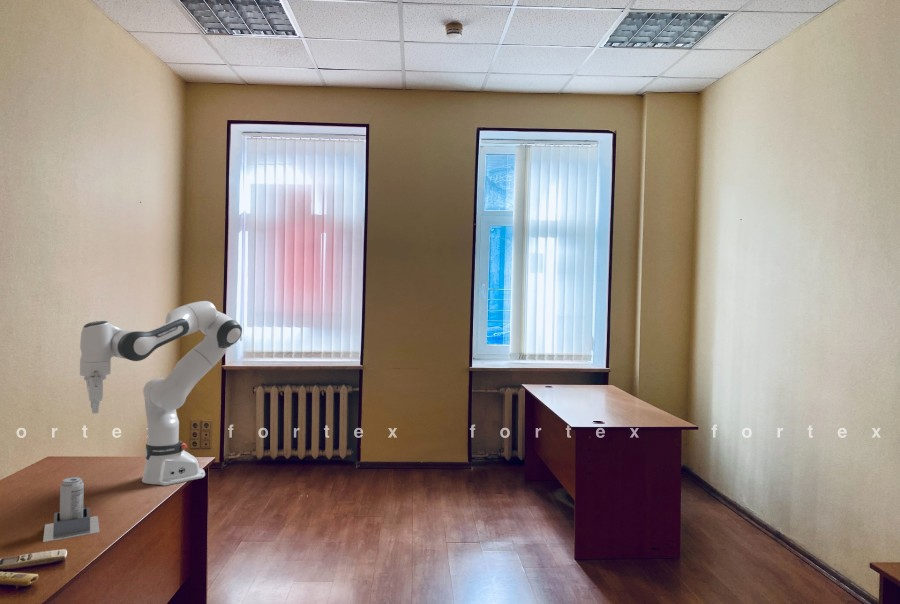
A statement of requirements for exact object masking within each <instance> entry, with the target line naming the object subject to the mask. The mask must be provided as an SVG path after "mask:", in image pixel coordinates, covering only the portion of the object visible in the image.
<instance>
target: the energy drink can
mask: <svg viewBox="0 0 900 604" xmlns="http://www.w3.org/2000/svg"><path fill="white" fill-rule="evenodd" d="M84 487H85V484H84V482H83V480H82V477H81V476H72V477H71V476H70V477H66V478H63V479H62V483H61V484H60V485H59V512H60V521H64V520H70V519H76V518H82V517H83V508H84V495H85V494H84V492H85V491H84V489H85V488H84Z"/></svg>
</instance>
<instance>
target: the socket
mask: <svg viewBox="0 0 900 604" xmlns="http://www.w3.org/2000/svg"><path fill="white" fill-rule="evenodd" d="M43 530H44V532H43V540H42V543H46V542H51V541H58V540H62V539H68V538H73V537H81V536H85V535H92V534H97V533H98V534H99V533H100V525H99V516H98V515H95V516H91V509H90V507H89V506H88V507H83V517H82V518H76V519H70V520H64V521H60V511H59V512H58V511H57V512H56V511H55V512H54V514H53V522H52V523H46V524H44V529H43Z"/></svg>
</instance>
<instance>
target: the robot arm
mask: <svg viewBox="0 0 900 604" xmlns="http://www.w3.org/2000/svg"><path fill="white" fill-rule="evenodd" d="M196 332H201V334H203V335H205V336H204V338H203V340H201V341H200V342H199V343H198V344H196V345H195V346H194V347H193V348H192V349H190V350H189V351H188V352H187V353H186V354H185V355H184V356H183V357H181V359H180V360H178V361H177V362H176V364H175V366H174V367H173V369H172V371H170V373H169V374H168V375H167V377H165V378H164V377H157V378H152V379H151V380H149V381H147V382H146V383H145V384H144V387H143V389H142V393H143V398H144V406H145V407H144V409H145V414H146V423H147V443H146V445H145V450H144V451H145V453H144V455H145V466H144V470H143V471H144V472H143V476H142V478H141V482H142V483H143V484H148V485H157V486H158V485H159V486H170V485H174V484H179V483H184V482H188V481H189V482H190V481H194V480H198V479H202V478H204V477H205V476H206V472H205V470H204V469H203V468H201V467H200V465H199V461H198V459H197V458H196V456H194V455H192V454H191V453H189V452H188V451H186V449H187V448H188V445H187V444H186V443H185V442H183V441H182V440H179V438H180V434H179V433H180V420H179V418H178V413H177V409H180V408H181V407H182V406H183V405H184V404H185V402H186V400H187V397H188V395H189V394H190V393H191V392H192V390H193V389H194V387H195V386H196V385H197V384H198V382H199V381H200V380H201V379H202V378H203V377H205V375H206V374H207V373H208V372H209V371H211V370H212V369H213V368H214V367H215V366H216V365H217V364H218V363H219V362H220V360H222V358H223V357H224V355H225V354H226V353H227V351H228V348H230V347H231V346H233V345H235V344H237V342H238V341H239V339H240V338H241V336H242V333H243V328H242V326H241V325H240V323H238V321H237V320H234V319H233V318H232V317H230V316H229V315H227V314H226V313H223V312H221V311H218V310H217V307H216V306H215V305H214V303H213V302H211V301H210V300H209V301H208V300H202V301H201V300H199V301H194V302H191V303H190V302H189V303H186V304H183V305H182V306H178V307H176V308H174V309H173V310H171V311H170V312H168V313H167V315H166V317H165V324H163V325H161V326H159V327H156V328H154V329H151V330H149V331H138V330H137V331H132V330H125V329H123V328H121V327H117V326H116V325H113V324H111V323H110V322H109V321H108V320H107V321H106V320H98V321H93V322H92V321H91V322H88V323H86V324H85V325H83V327H82V329H81V333H80V344H79V345H80V347H79V349H80V354H81V355H80V359H79V376H81V377H83V381H86V382H85V383H86V389H87V390H86V391H87V394H88V400H89V402H90V408H91V413H92V414H93V415H94V414H98V413H99V407H100V402H101V401H103V397H104V382H103V380H106V379H107V376H108V375H111V371H112V370H111V368H112V367H111V365H112V363H111V361H112V358H113V357H115V358H118V359H126V360H128V361H132V362H140V361H143V360H145V359H147V358H149V356H150V355H151V354H153V352H155V351H156V350H157V349H159V348H160V347H162V346H164V345H166V344H168V343H170V342H173V341H175V340H177V339H180V338H181V337H185V336H188V335H192V334H194V333H196Z"/></svg>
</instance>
